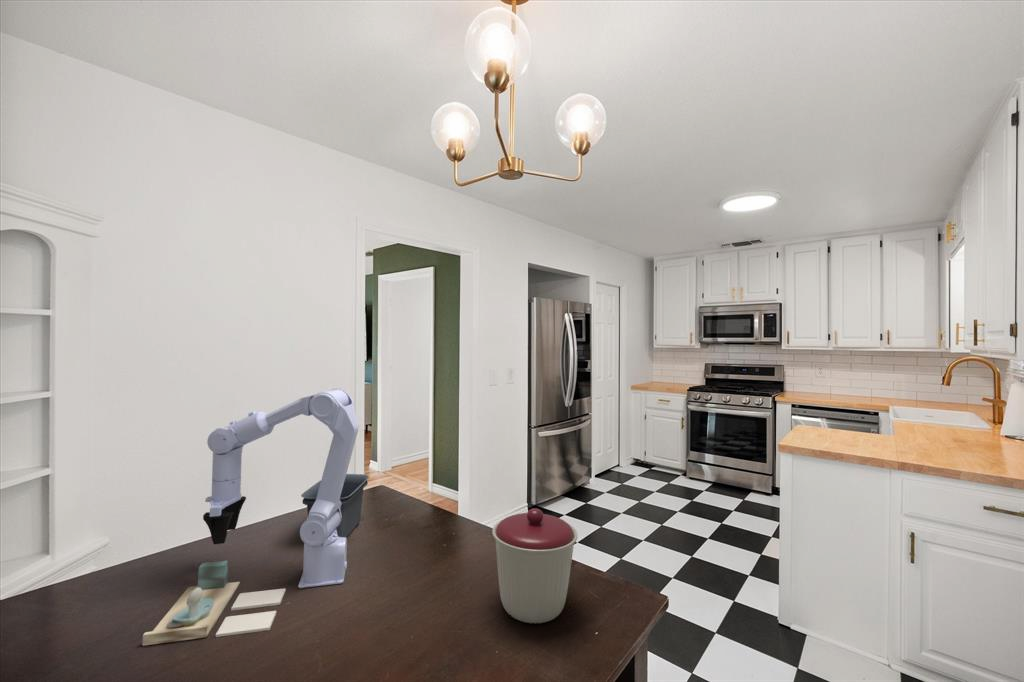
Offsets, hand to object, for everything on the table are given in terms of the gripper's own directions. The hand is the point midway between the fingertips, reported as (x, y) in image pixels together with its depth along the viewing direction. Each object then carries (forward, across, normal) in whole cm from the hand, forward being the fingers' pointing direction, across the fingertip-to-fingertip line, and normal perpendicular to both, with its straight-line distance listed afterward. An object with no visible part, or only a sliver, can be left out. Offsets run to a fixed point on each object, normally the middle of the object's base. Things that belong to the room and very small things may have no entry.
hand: (224, 536), depth 103 cm
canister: (+10, +29, +66) cm, 73 cm away
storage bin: (+10, -19, +22) cm, 31 cm away
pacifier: (+9, +18, -1) cm, 20 cm away
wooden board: (+9, +14, -1) cm, 17 cm away
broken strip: (+10, +17, +10) cm, 22 cm away
